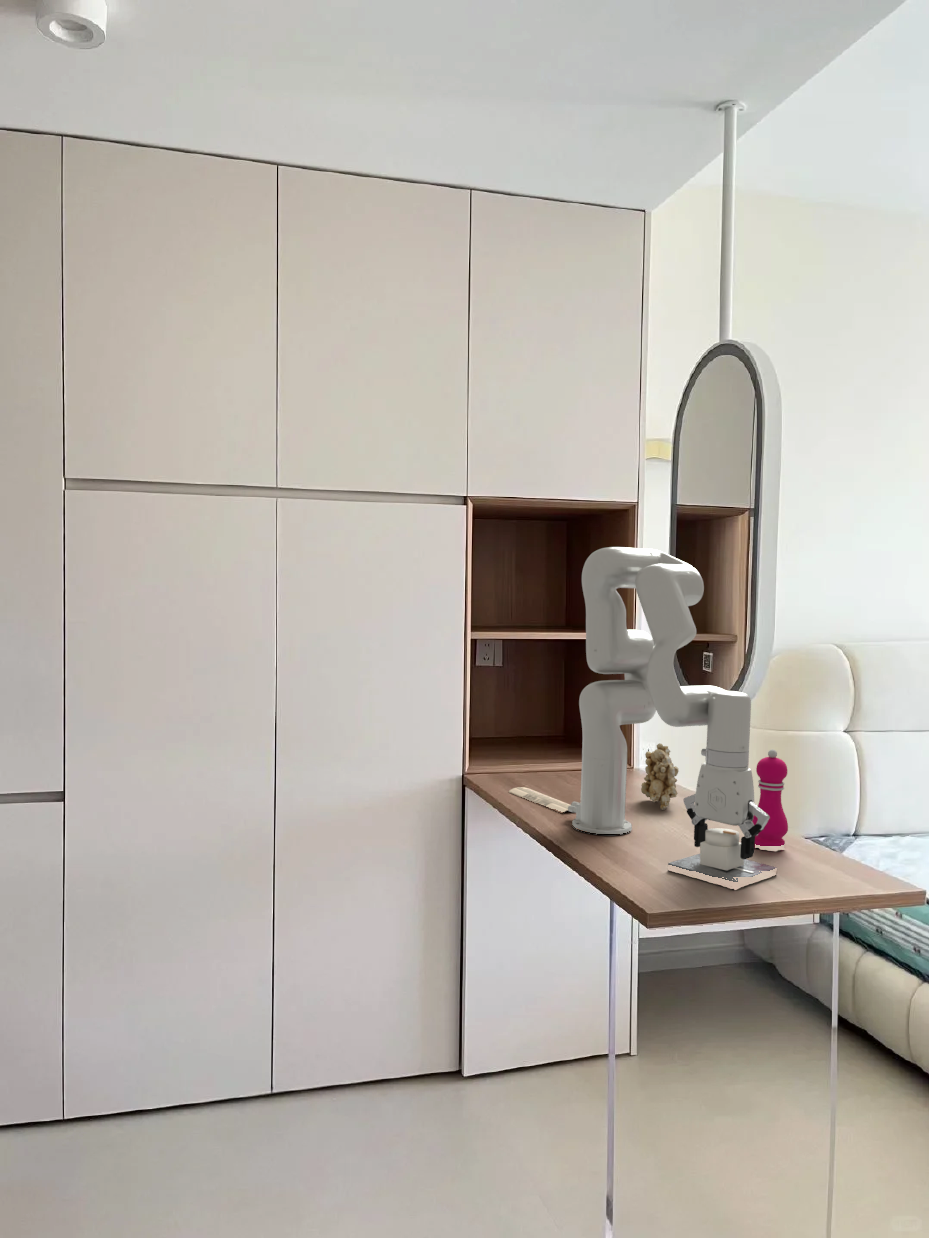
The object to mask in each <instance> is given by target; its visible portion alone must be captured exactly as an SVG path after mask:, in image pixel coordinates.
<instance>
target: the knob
mask: <svg viewBox="0 0 929 1238" xmlns="http://www.w3.org/2000/svg"><path fill="white" fill-rule="evenodd" d="M699 848H700V849H699V850H700V851H699V854H700V864H701V865H705V866H710V867H714V868H718V869H722V870H730V869H733V868H736V867H739V866H742V865H744V859H741V857H740V854H741V841H740V832H739V831H737V830H735V829H731V828H721V827H718V828H717V827H714V828H708V829H707V830H706V831H705V841H704V842H701V843H700V847H699Z"/></svg>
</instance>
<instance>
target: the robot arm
mask: <svg viewBox="0 0 929 1238" xmlns="http://www.w3.org/2000/svg"><path fill="white" fill-rule="evenodd" d="M581 587H582V592H583V593H582V594H583V598H584V604H585V653H586V654H585V655H586V656H585V657H586V662H587V666H588V668H589V669H590V670H591V671H593V672H594V673H596V674H597V673H598V674H603V675H612V674H613V675H617V674H618V675H619V674H620V675H622V674H624V679H608V680H598V681H597V680H596V681H594V682H590V683H589V684H588V685H586V686H585V687H584V688H583V689H582V690H581V692H580V694H579V700H578V706H579V713H580V719H581V720H580V722H581V728H582V729H581V730H582V743H581V744H582V748H581V773H580V774H581V777H580V778H581V779H580V780H581V781H580V802H578V801H575V800H574V801H572V802H571V803H570V806H569V807H568V810H567V811H568V812H571V813H575V814H576V815H575V818H574V819H573V820H572V823H571V824H572V825H573V826H574V827H575V828H578V829H580V830H583V831H587V832H590V833H596V834H595V835H597V834H620V835H624V834H623V833H626V834H628V833H630V832H631V831H632V829H633V824H632V823H631V822H630V821H628V820H627V819H626V801H627V800H626V799H627V795H626V794H627V776H628V775H627V774H628V773H627V771H628V744H627V740H626V738H625V735H624V734H623V731H622V730H621V726H622V725H635V724H636V725H637V724H643V723H647V722H649V721H650V720H652V719H653V717H654V716H655V714H656V712H657V714H658V717H659V718H660V719H661V721H663V722H664V723H665V724H666V725H668V726H670V727H673V728H674V727H675V728H679V727H680V728H682V727H695V726H696V727H697V726H699V727H701V726H706V727H707V728H706V730H707V731H706V747H705V748H702V749H701V750H700V752H701V753H700V754H701V756H703V757H705V762H703V763H701V765H700V769H699V772H698V776H697V781H696V782H697V783H696V788H695V789H696V790H695V793H694V794H691V795H689V796H686V797H684V798H683V803H684V806H685V808H686V814H687V815H688V816H689V818H690V819H691V824H692V825H693V826H694V827H693V840H694V842H693V843H694V844H693V845H694V847H696V848H700V843H701V842H704V841H705V831H706V830H707V829H709V827H708V826H709V825H708V823H706V821H707V820H708V821H712V822H716V823H719V824H725V825H729V826H733V827H734V826H737V827H739V829H740V832H742V834H743V836H741V838H740V842H741V854H740V857H741V859H744V860H745V859H747V860H749V859H750V858H752V857H754V854H755V849H756V848H755V836H757V835H758V833H760V832H761V831H762V830H763V829H764V828H765V825H766V824H767V822H768V820H769V818H770V817H769V815H768V814H767V813H765V812H764V811H763V810H762V809H761V808H759V807H758V805H757V804H755V786H754V779H753V778H754V776H753V773H752V769H751V768H749V758H750V737H751V736H750V735H751V715H752V714H751V713H752V712H751V710H752V699H751V697H750V696H749V695H748V693H746V692H741V691H737V690H736V691H735V690H726V689H724V688H722V687H718V686H715V685H704V684H703V685H681V686H680V683H679V680H678V677H677V675H676V671H675V667H674V666H675V665H674V660H675V655H676V652H677V650H679V649H682V648H684V646H687V645H688V644H689V643H691V642H692V641H693V640H694V639H695V637H696V635H697V628H696V627H697V626H696V624H695V622H694V620H693V616H692V614H691V611H690V608H689V607H692V606H694V605H696V604H698V603H699V602H700V601H701V600H702V598H703V596H704V590H705V585H704V579H703V578H702V576H701V574H700V572H699V571H698V569H696V568H695V567H693V565H691V564H689V563H688V562H685V561H683V560H681V559H679V558H676V557H675V556H672V555H670V554H668V553H666V552H663V551H662V550H658V549H655V548H641V547H639V548H638V547H627V546H626V547H625V546H609V547H602V548H599V549H597V550H595V551H593V552H592V553H591V554H590V555H589V556H588V557H587V558H586V560H585V562H584V564H583V568H582V572H581ZM620 588H621V589H635V591H636V595H637V597H638V600H639V602H640V606H641V608H642V612H643V614H644V617H645V618H644V619H645V620H646V623H647V627H648V629H649V632H650V634H649V633H648V632H646V631H645V630H641V629H631V628H630V629H628V628H627V608H626V605H625V603H624V601H623V598H622V596H621V595H620V593H619V592H618V590H617V589H620ZM754 815H755V816H756V817H757V818H758V821H757V823H756V824H755V825H754V824H753V822H752V821H753V818H754ZM572 825H571V826H572ZM573 826H572V827H573ZM574 827H573V828H574ZM575 828H574V829H575ZM629 831H630V832H629ZM627 832H628V833H627ZM590 833H589V834H590Z"/></svg>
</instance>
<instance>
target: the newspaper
mask: <svg viewBox="0 0 929 1238" xmlns="http://www.w3.org/2000/svg"><path fill="white" fill-rule="evenodd" d="M508 793H509V794H511V795H514V796H517V797H518V798H521V797H522V799H523V798H525V799H524V800H526V799H527V800H526V801H528V800H529V802H531V801H532V802H531V803H533V802H534V803H533V804H536V803H539V804H541V805H544V806H546V807H549V808H551V809H556V810H558V811H561V812H564V813H565V812H567V811H568V807H569V806H570V805H571V803H570V804H569V803H567V802H564V801H562V800H559V799H556V798H554V797H553V796H552V797H551V796H549V795H547V794H544V793H541V792H539V791H536V790H534V789H531V788H529V787H524V786H523V787H521V786H518V787H513V788H511V789H509V791H508ZM541 805H540V806H541Z"/></svg>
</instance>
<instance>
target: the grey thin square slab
mask: <svg viewBox="0 0 929 1238" xmlns="http://www.w3.org/2000/svg"><path fill="white" fill-rule="evenodd" d="M668 865H672V866H676V867H679V868H682V869H686V870H689V871H696V872H699V873H703V874H705V875H709V876H712V877H718V878H722V877H724V878H722V879H725V880H729V881H733V882H738V878H736V880H737V881H736V880H735V879H734V878H733V877H753V876H755V875H758V874H760V873H762V872H761V871H770V870H773V869H775V868H777V869H778V867H776V866H773V865H768V864H766V863H762V862H761V863H760V862H757V861H754V860H749V859H745V860H744V865H742V866H739V867H736V868H733V869H730V870H722V869H718V868H714V867H710V866H705V865H701V864H700V853H697V854H694V855H691V856H686V857H683V858H680V859H677V860H673V861H671V862H667V866H668ZM759 871H760V872H759ZM726 878H727V879H726ZM732 879H733V880H732Z"/></svg>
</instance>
